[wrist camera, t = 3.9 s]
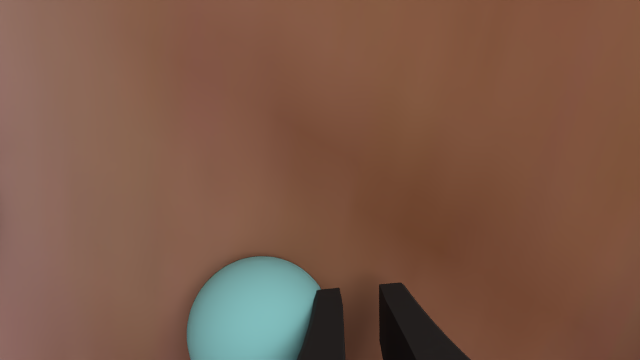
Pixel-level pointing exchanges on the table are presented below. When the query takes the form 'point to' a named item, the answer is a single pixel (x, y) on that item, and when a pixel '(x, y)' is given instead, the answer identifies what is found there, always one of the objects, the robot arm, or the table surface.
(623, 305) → the table surface
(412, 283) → the table surface
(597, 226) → the table surface
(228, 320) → the ball
